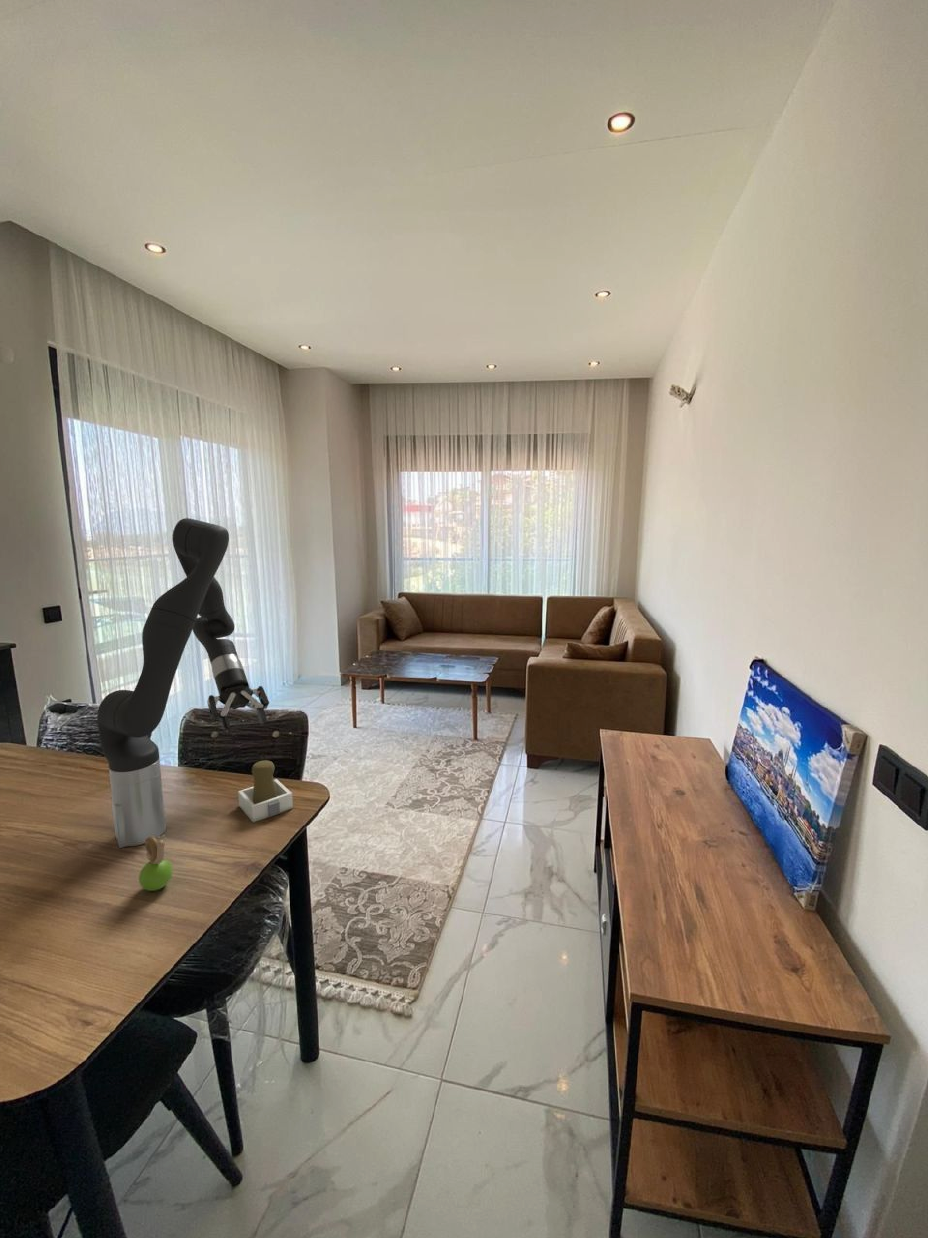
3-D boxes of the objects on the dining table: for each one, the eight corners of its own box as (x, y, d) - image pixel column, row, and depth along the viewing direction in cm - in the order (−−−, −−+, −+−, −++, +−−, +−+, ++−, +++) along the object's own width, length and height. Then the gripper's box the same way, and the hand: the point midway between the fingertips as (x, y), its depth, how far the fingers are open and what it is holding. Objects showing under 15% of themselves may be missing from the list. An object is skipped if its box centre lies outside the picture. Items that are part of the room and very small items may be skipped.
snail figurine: (152, 904, 89) (145, 844, 87) (134, 890, 92) (128, 832, 90) (182, 886, 94) (176, 829, 92) (164, 874, 97) (159, 818, 95)
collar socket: (254, 824, 114) (253, 809, 113) (239, 806, 122) (238, 791, 121) (294, 809, 120) (293, 794, 120) (277, 793, 128) (276, 778, 127)
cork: (268, 812, 118) (266, 769, 116) (246, 809, 119) (244, 767, 117) (282, 799, 124) (281, 758, 122) (261, 796, 125) (259, 756, 123)
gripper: (202, 671, 126) (219, 727, 119) (259, 663, 135) (277, 713, 129) (198, 686, 130) (214, 740, 124) (253, 677, 140) (270, 726, 133)
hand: (246, 726), depth 126 cm, fingers open, 8 cm apart
